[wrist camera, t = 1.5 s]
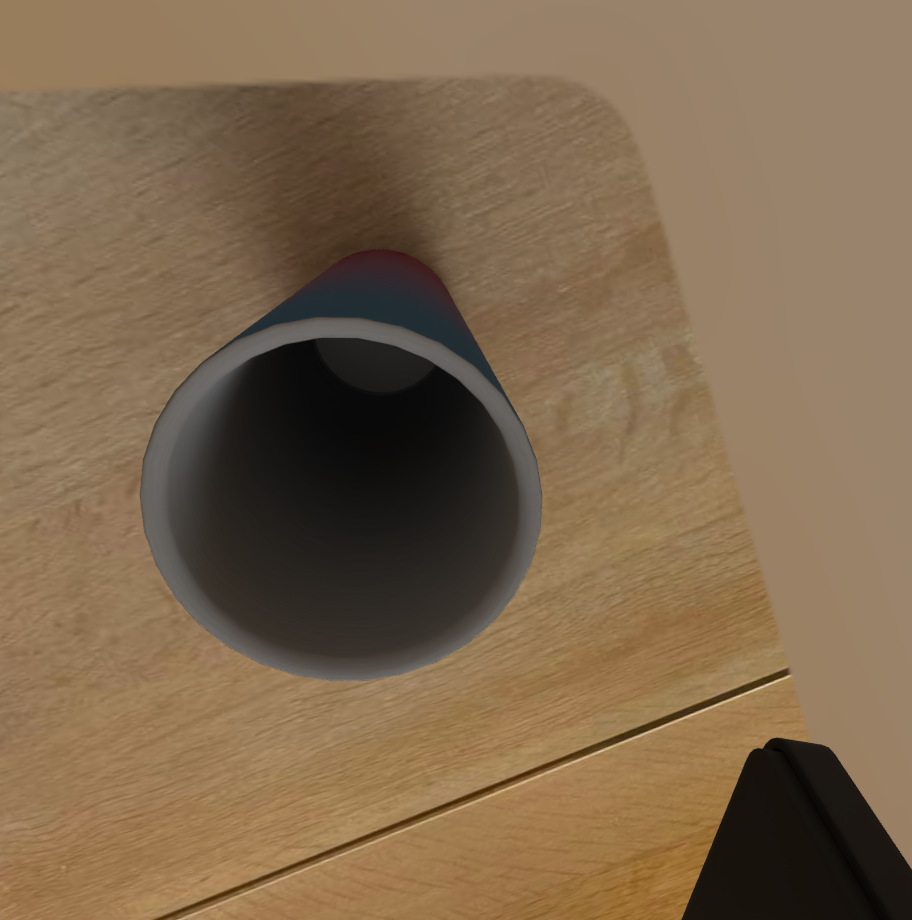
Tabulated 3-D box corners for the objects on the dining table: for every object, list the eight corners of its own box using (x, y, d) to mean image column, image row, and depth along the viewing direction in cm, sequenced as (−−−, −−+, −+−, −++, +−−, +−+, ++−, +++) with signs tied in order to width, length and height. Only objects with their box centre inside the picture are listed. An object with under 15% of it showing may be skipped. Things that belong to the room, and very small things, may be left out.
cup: (489, 413, 30) (550, 665, 16) (294, 430, 30) (182, 698, 16) (475, 211, 27) (533, 298, 13) (262, 230, 27) (96, 336, 13)
